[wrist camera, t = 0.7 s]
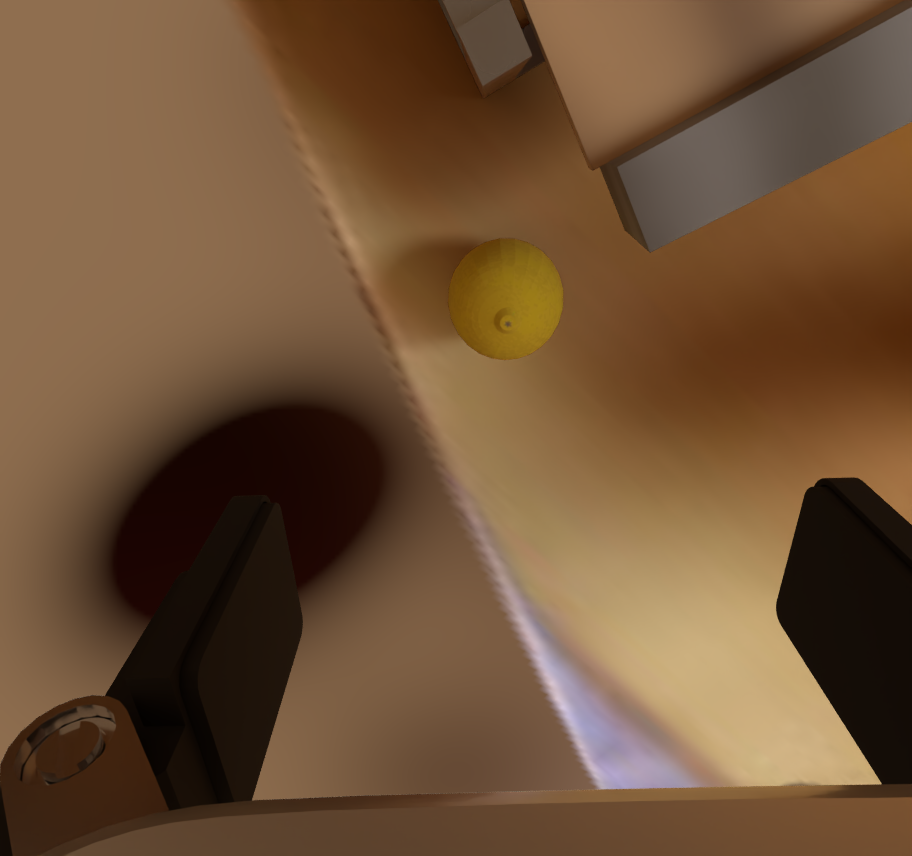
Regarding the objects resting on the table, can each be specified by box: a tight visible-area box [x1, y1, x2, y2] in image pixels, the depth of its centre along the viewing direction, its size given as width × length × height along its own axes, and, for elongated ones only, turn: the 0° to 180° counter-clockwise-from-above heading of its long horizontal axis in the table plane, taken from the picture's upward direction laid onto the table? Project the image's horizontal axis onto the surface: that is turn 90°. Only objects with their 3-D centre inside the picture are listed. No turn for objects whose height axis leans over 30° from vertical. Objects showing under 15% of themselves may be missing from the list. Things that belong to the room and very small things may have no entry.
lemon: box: [448, 238, 563, 360], centre depth 30 cm, size 6×6×8 cm
